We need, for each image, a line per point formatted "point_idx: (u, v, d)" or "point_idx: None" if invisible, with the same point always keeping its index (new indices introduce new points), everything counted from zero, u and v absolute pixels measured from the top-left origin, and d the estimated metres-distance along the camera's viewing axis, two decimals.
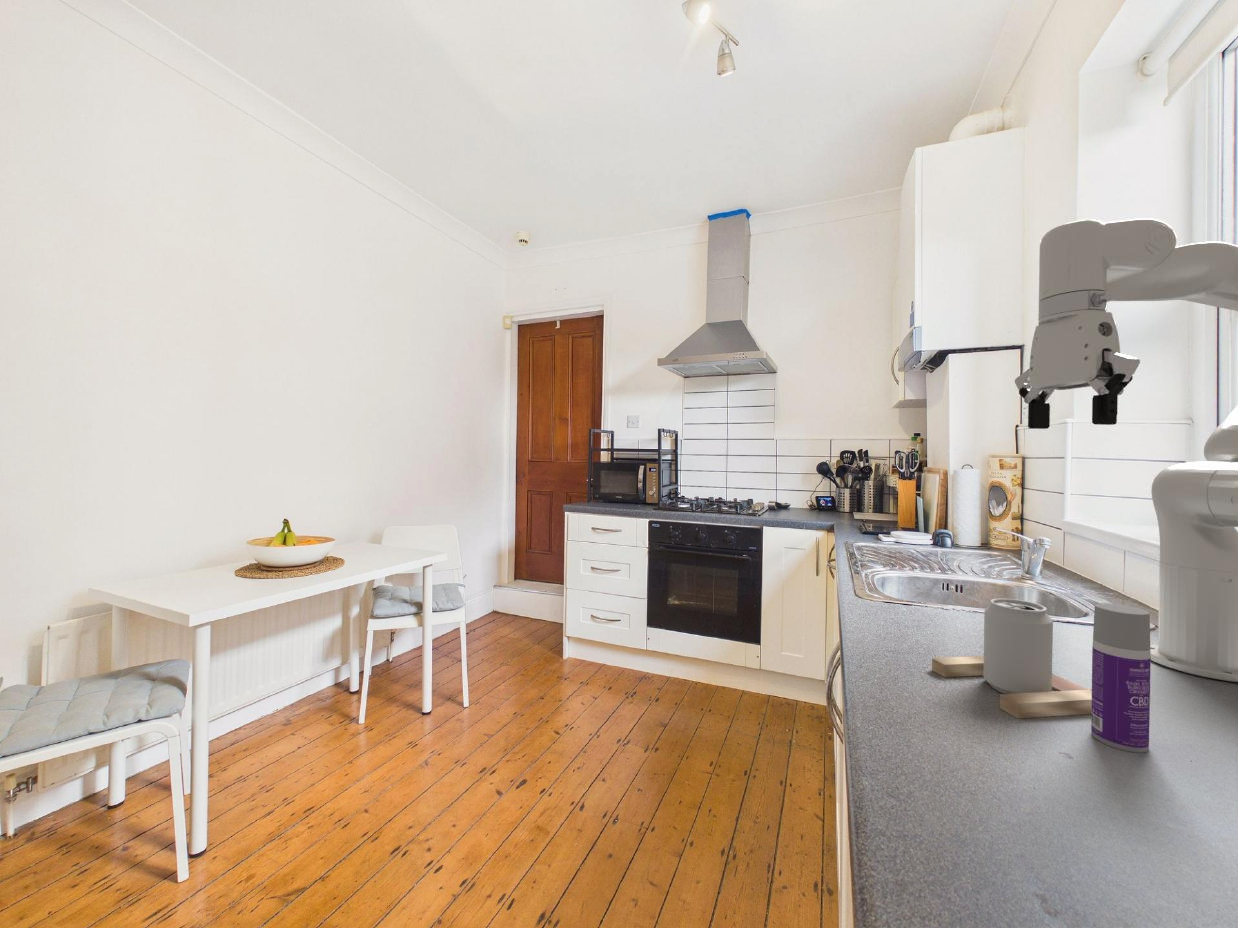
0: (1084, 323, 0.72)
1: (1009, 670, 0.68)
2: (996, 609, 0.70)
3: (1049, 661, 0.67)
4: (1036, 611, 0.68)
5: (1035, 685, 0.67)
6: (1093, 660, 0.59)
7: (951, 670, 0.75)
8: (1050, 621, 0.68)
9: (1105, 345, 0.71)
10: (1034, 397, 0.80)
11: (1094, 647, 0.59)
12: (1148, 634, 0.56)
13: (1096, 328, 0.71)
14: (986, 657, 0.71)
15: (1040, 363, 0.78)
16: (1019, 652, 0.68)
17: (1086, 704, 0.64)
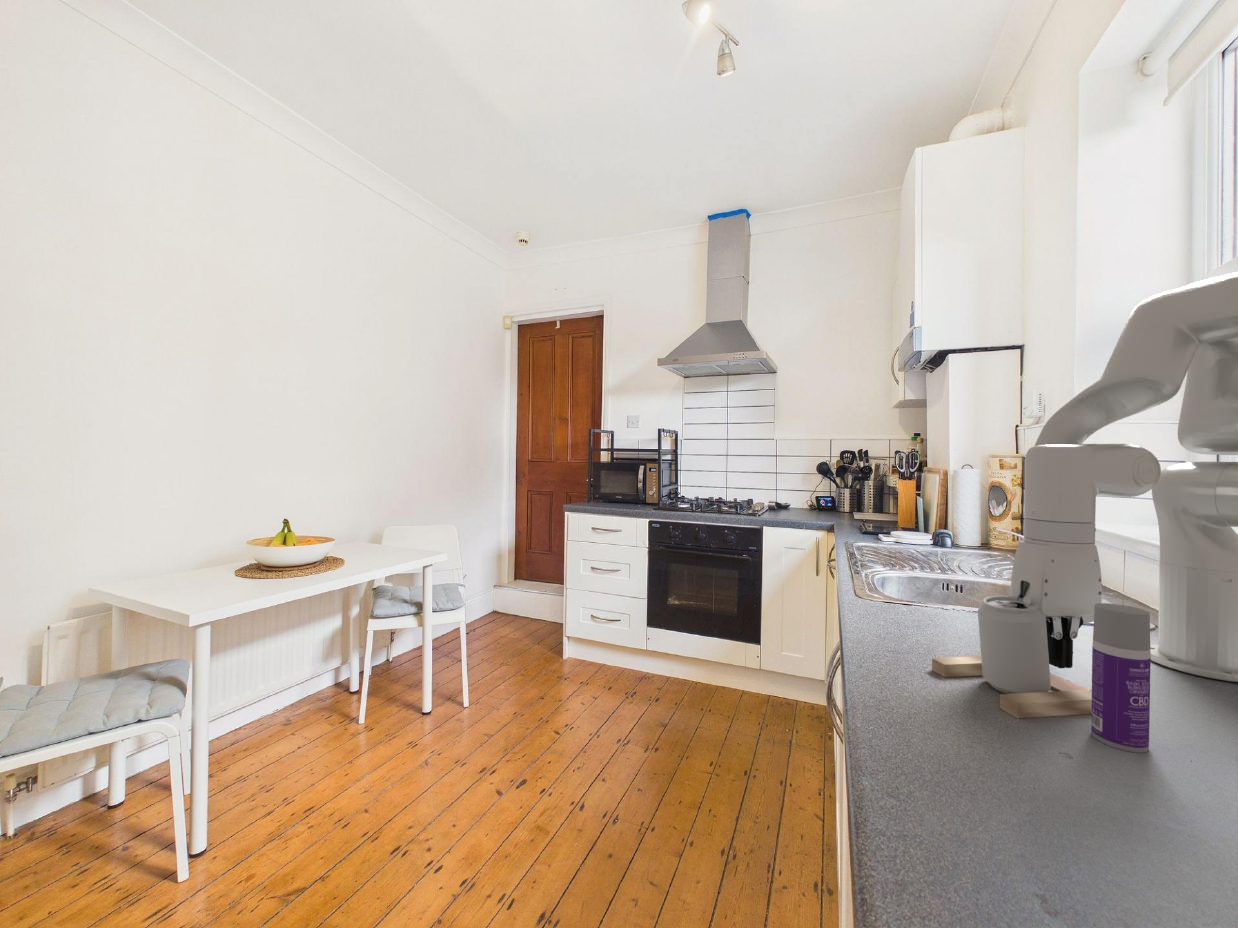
0: (1097, 556, 0.70)
1: (1006, 669, 0.68)
2: (989, 609, 0.70)
3: (1045, 657, 0.67)
4: (1028, 609, 0.67)
5: (1034, 683, 0.67)
6: (1093, 660, 0.59)
7: (951, 670, 0.75)
8: (1043, 618, 0.67)
9: None
10: None
11: (1094, 647, 0.59)
12: (1148, 634, 0.56)
13: None
14: (983, 657, 0.71)
15: (1057, 590, 0.69)
16: (1015, 652, 0.67)
17: (1086, 704, 0.64)
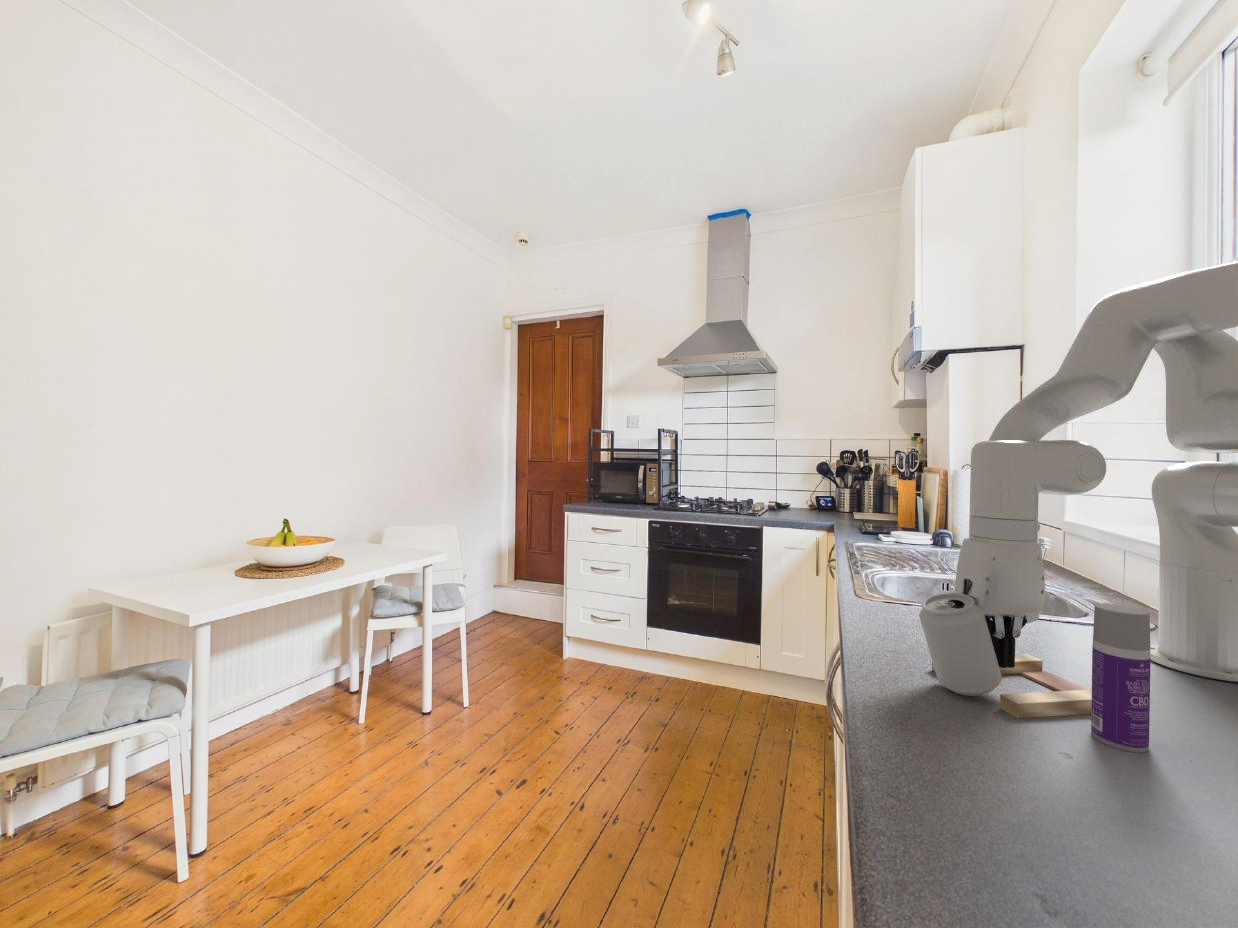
0: (1040, 554, 0.68)
1: (953, 672, 0.67)
2: (927, 614, 0.69)
3: (989, 654, 0.66)
4: (962, 610, 0.66)
5: (982, 682, 0.66)
6: (1093, 660, 0.59)
7: None
8: (979, 615, 0.66)
9: None
10: None
11: (1094, 647, 0.59)
12: (1148, 634, 0.56)
13: None
14: (932, 659, 0.71)
15: (999, 588, 0.67)
16: (958, 654, 0.66)
17: (1086, 704, 0.64)
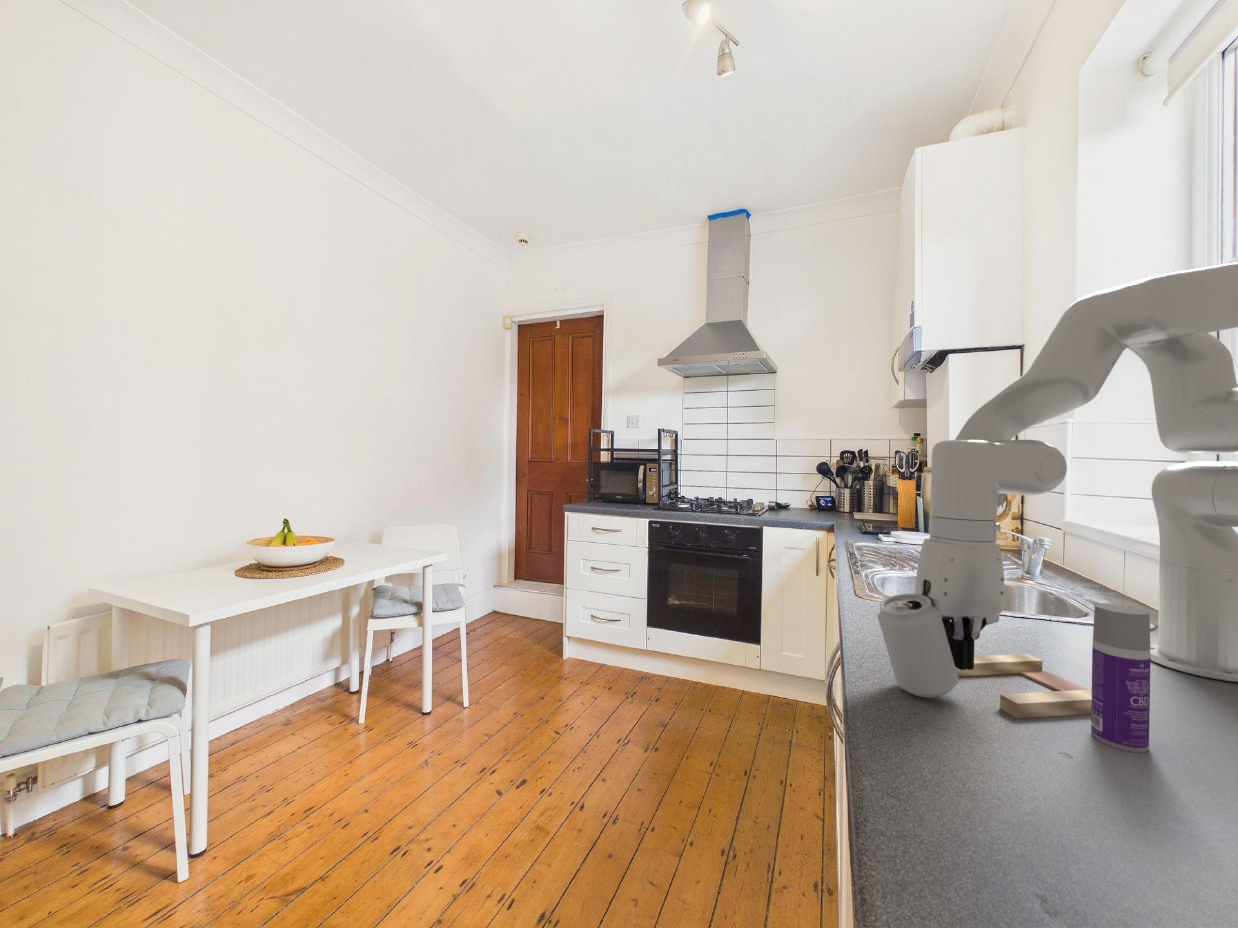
0: (999, 555, 0.68)
1: (908, 673, 0.67)
2: (884, 614, 0.69)
3: (944, 656, 0.66)
4: (917, 611, 0.66)
5: (936, 684, 0.66)
6: (1093, 660, 0.59)
7: None
8: (935, 617, 0.66)
9: None
10: None
11: (1094, 647, 0.59)
12: (1148, 634, 0.56)
13: None
14: (890, 660, 0.70)
15: (957, 589, 0.67)
16: (912, 656, 0.66)
17: (1086, 704, 0.64)
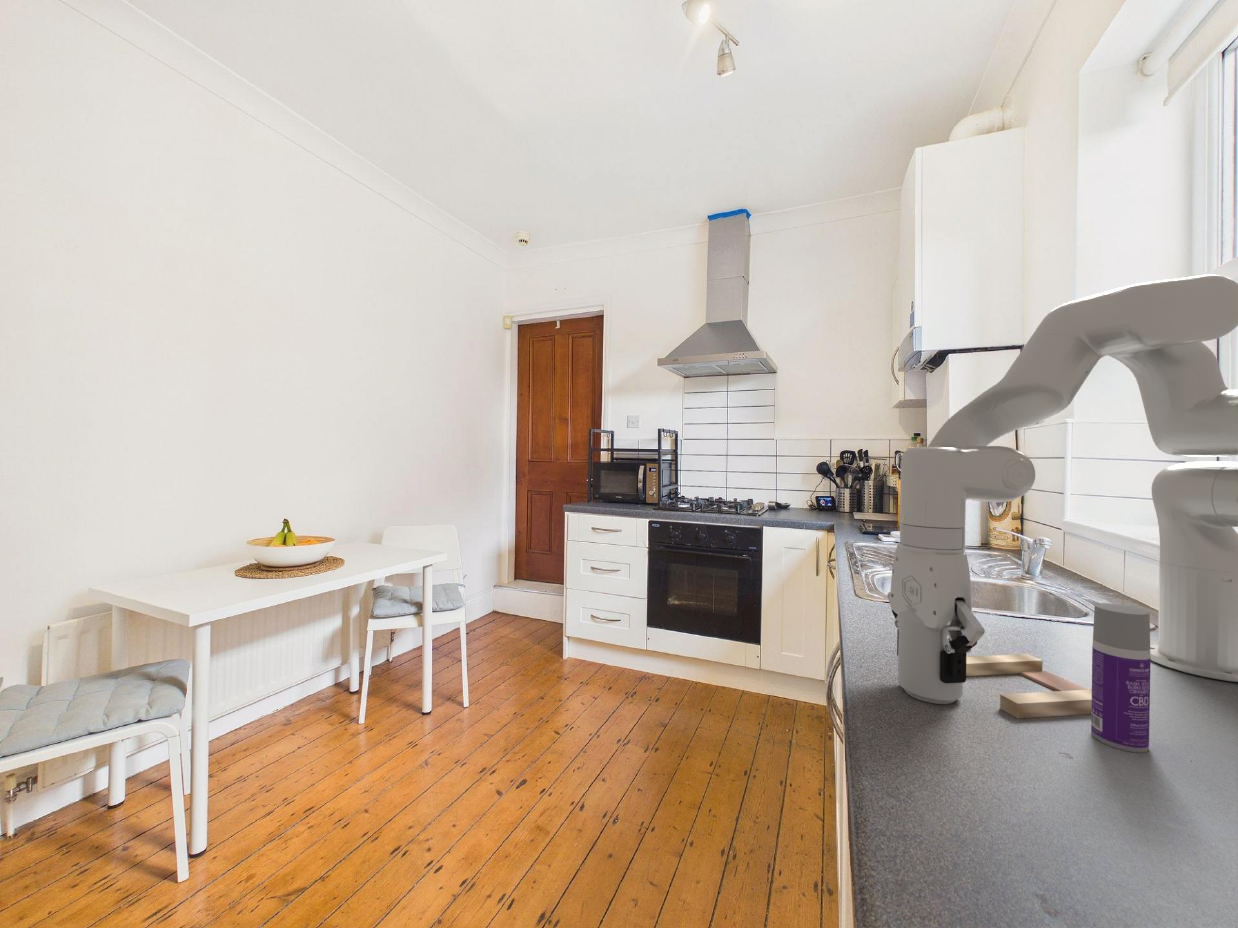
0: None
1: (916, 673, 0.67)
2: (908, 611, 0.69)
3: None
4: None
5: (942, 689, 0.65)
6: (1093, 660, 0.59)
7: None
8: None
9: None
10: None
11: (1094, 647, 0.59)
12: (1148, 634, 0.56)
13: None
14: (899, 659, 0.70)
15: None
16: (926, 655, 0.66)
17: (1086, 704, 0.64)
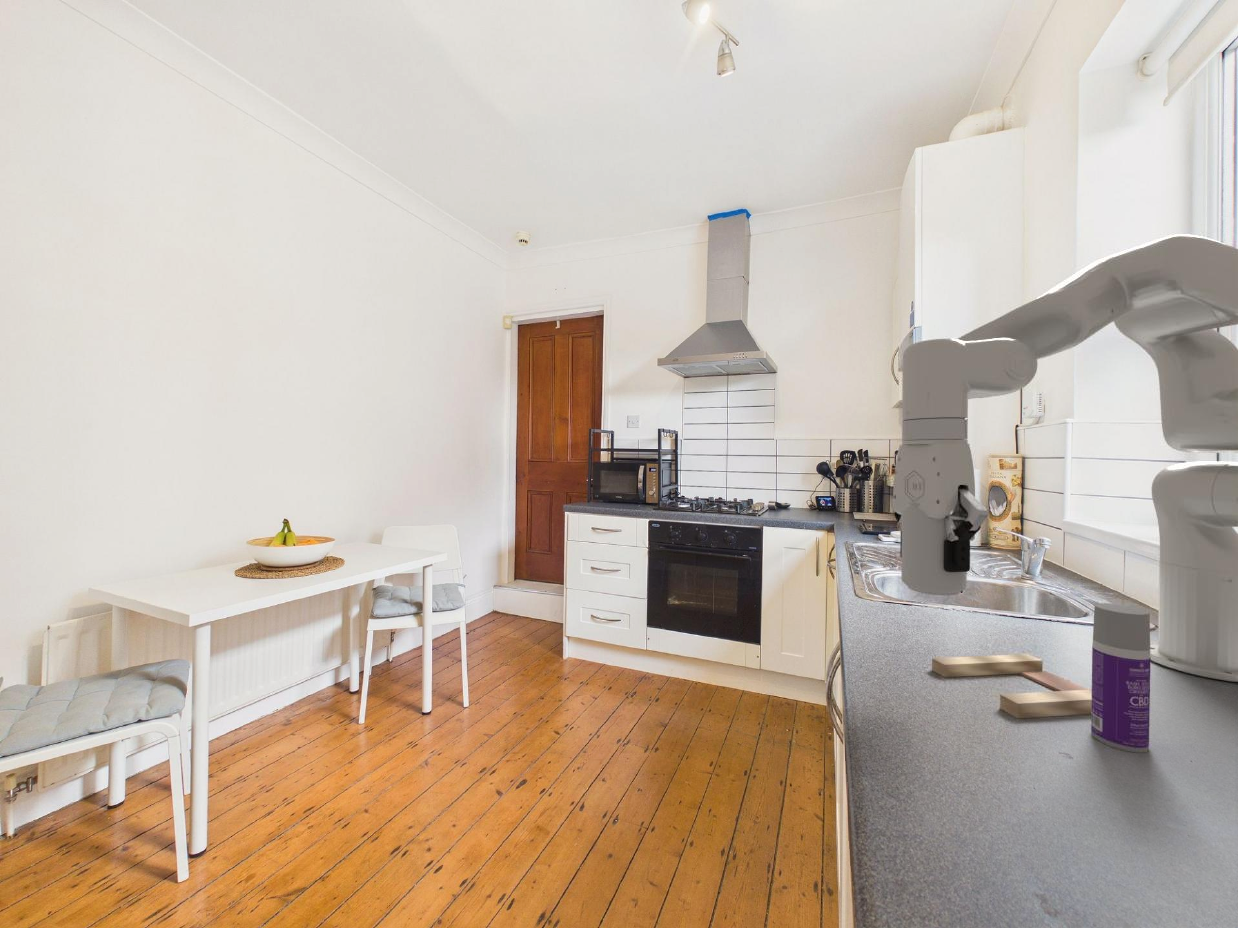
0: None
1: (920, 566, 0.67)
2: (911, 507, 0.69)
3: None
4: None
5: (946, 580, 0.65)
6: (1093, 660, 0.59)
7: (951, 670, 0.75)
8: None
9: None
10: None
11: (1094, 647, 0.59)
12: (1148, 634, 0.56)
13: None
14: (902, 557, 0.70)
15: None
16: (930, 547, 0.66)
17: (1086, 704, 0.64)
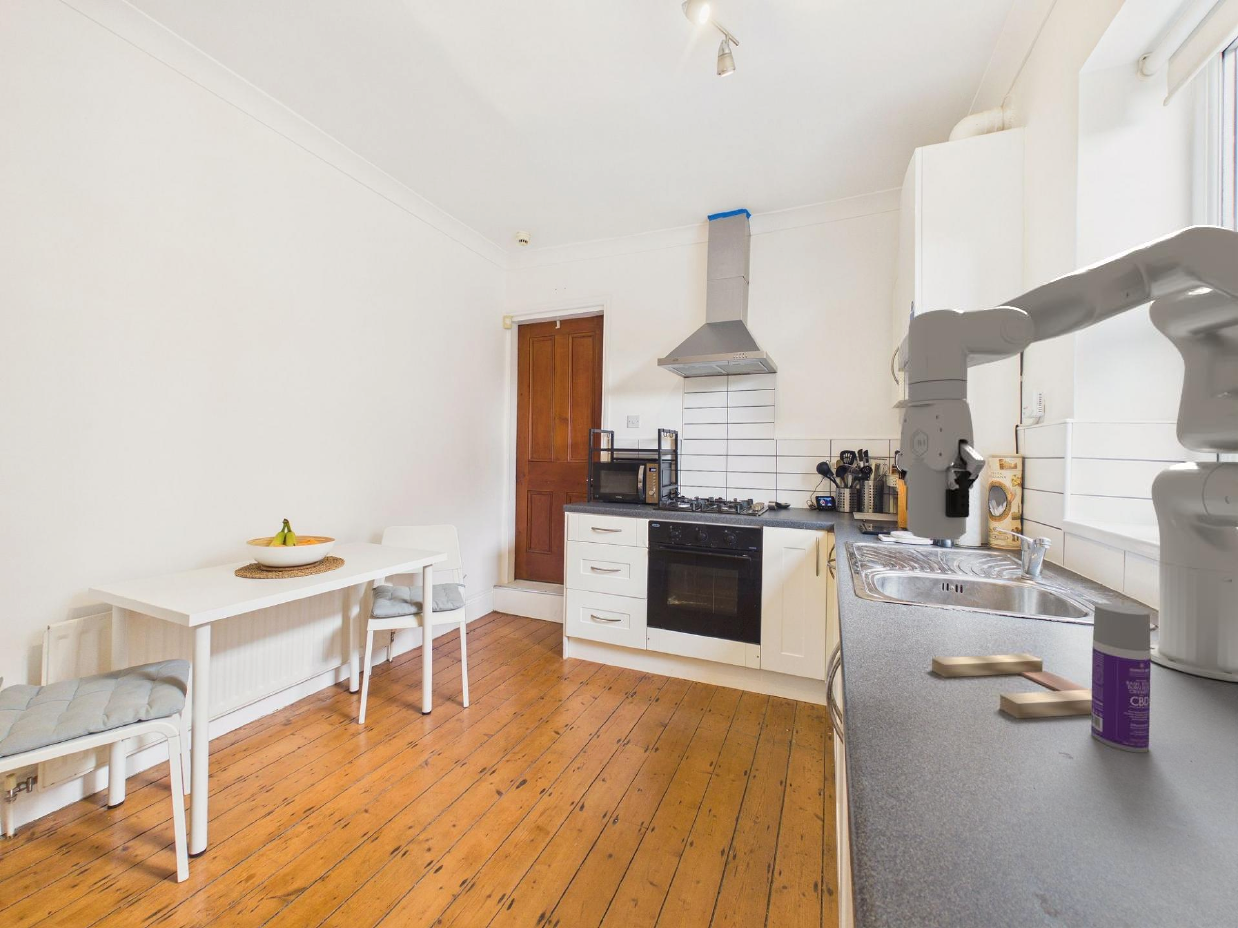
0: None
1: (924, 513, 0.74)
2: (916, 462, 0.76)
3: None
4: None
5: (947, 525, 0.73)
6: (1093, 660, 0.59)
7: (951, 670, 0.75)
8: None
9: None
10: None
11: (1094, 647, 0.59)
12: (1148, 634, 0.56)
13: None
14: (908, 508, 0.78)
15: None
16: (933, 496, 0.74)
17: (1086, 704, 0.64)
